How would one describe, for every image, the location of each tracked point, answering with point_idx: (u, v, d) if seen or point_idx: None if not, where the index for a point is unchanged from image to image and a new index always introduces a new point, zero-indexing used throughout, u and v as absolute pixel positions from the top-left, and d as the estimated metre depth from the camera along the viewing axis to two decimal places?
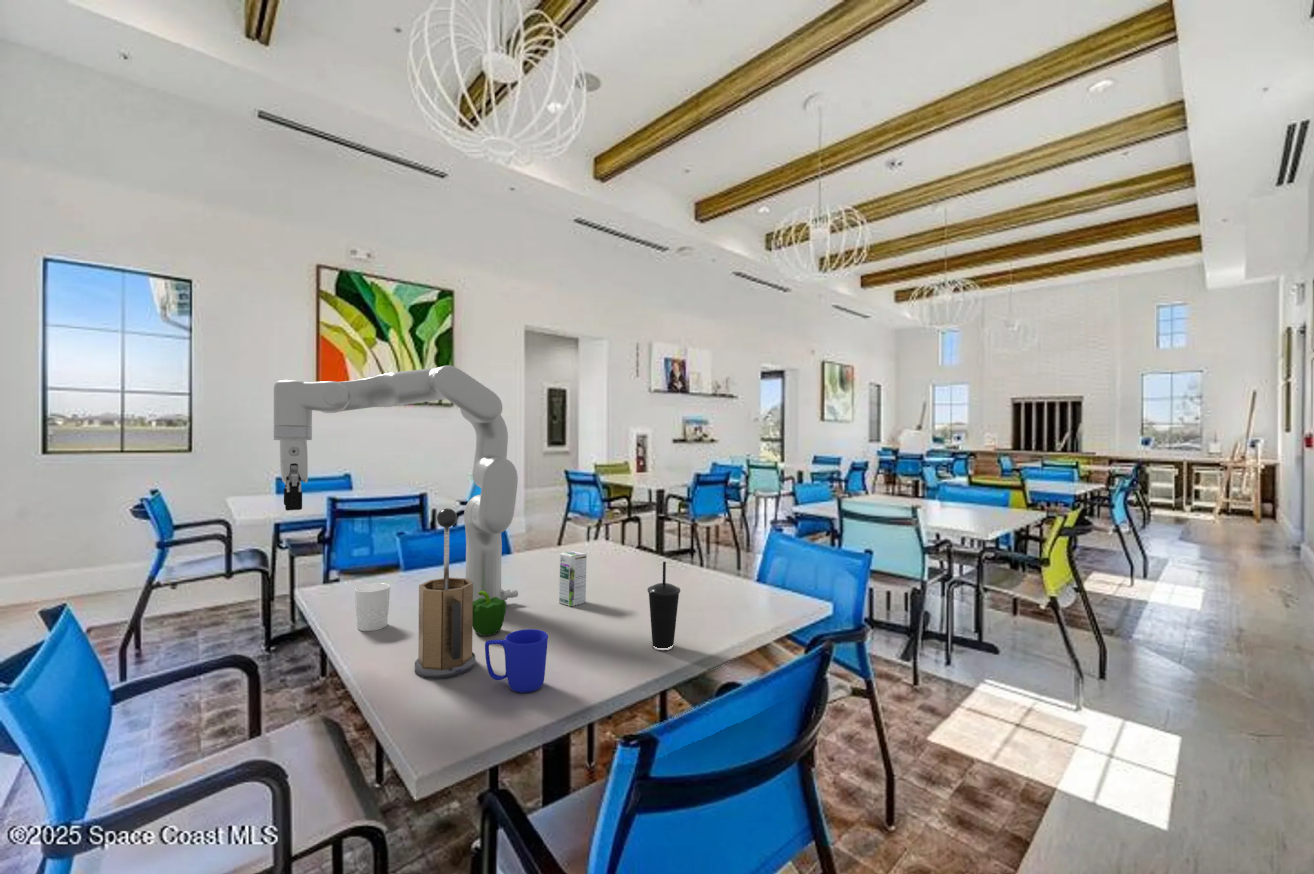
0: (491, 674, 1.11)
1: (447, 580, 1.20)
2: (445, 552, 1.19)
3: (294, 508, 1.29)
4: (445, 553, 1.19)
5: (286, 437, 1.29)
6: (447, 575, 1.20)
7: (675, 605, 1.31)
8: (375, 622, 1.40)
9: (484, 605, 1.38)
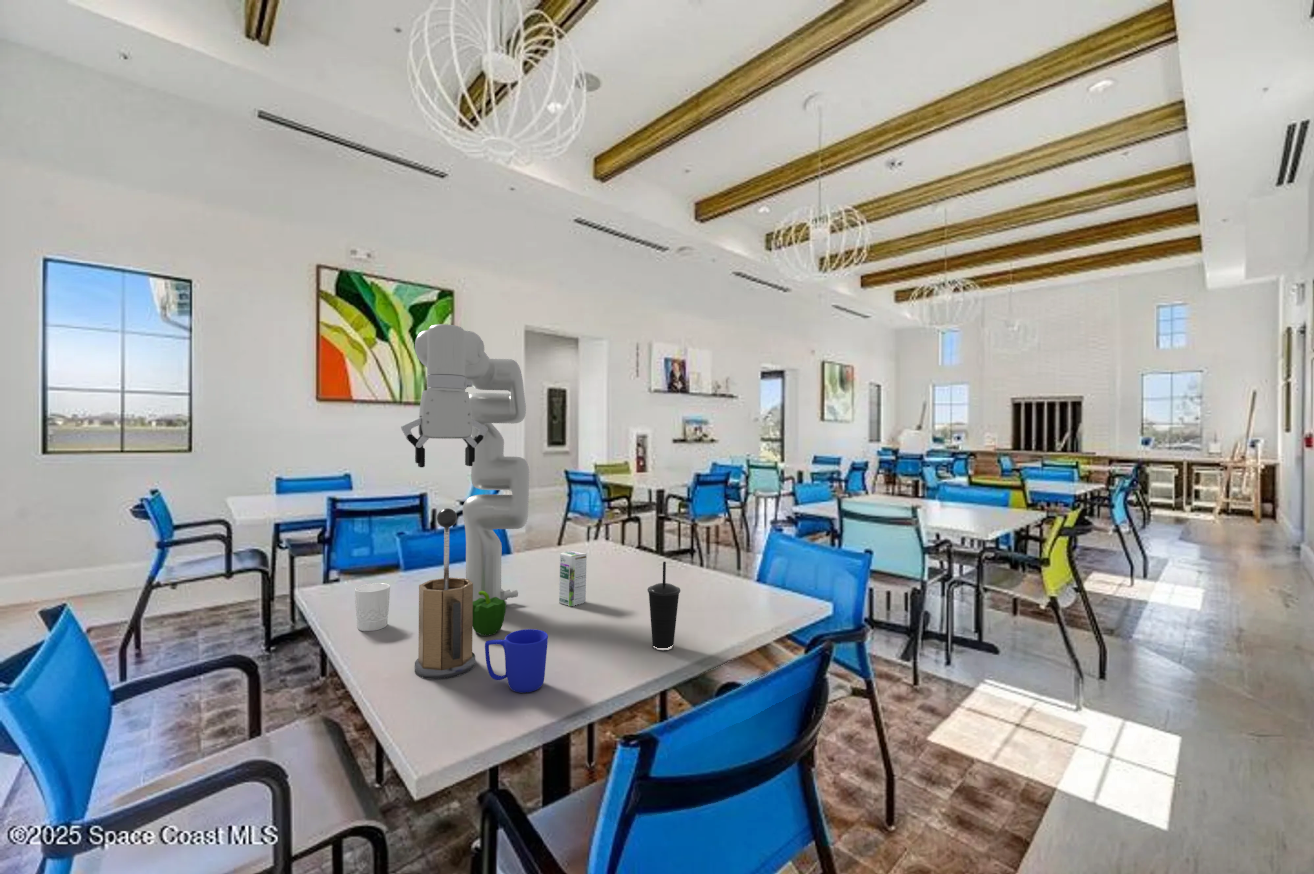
0: (491, 674, 1.11)
1: (447, 580, 1.20)
2: (445, 552, 1.19)
3: None
4: (445, 553, 1.19)
5: None
6: (447, 575, 1.20)
7: (675, 605, 1.31)
8: (375, 622, 1.40)
9: (484, 605, 1.38)
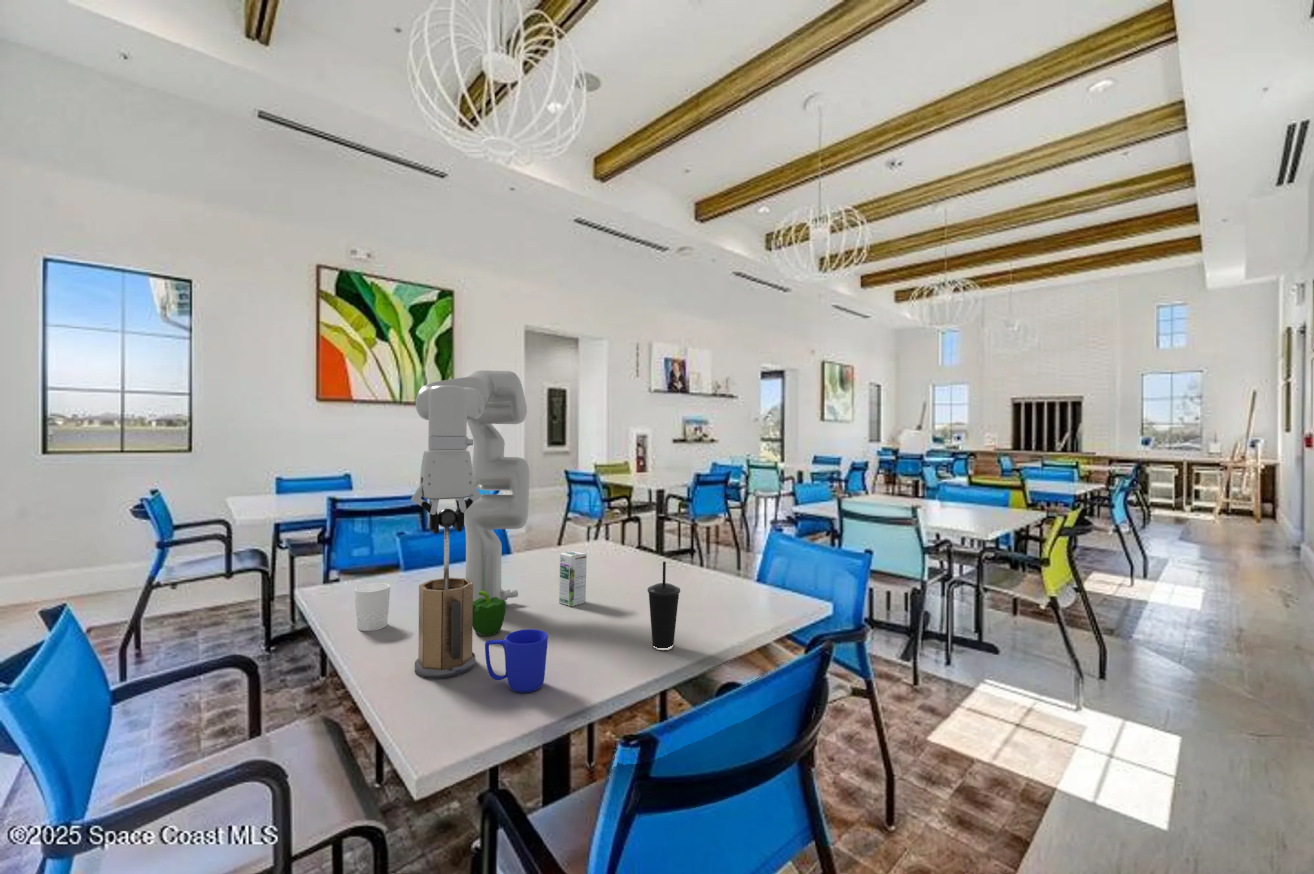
0: (491, 674, 1.11)
1: (447, 580, 1.20)
2: (445, 552, 1.19)
3: None
4: (445, 553, 1.19)
5: (466, 448, 1.20)
6: (447, 575, 1.20)
7: (675, 605, 1.31)
8: (375, 622, 1.40)
9: (484, 605, 1.38)
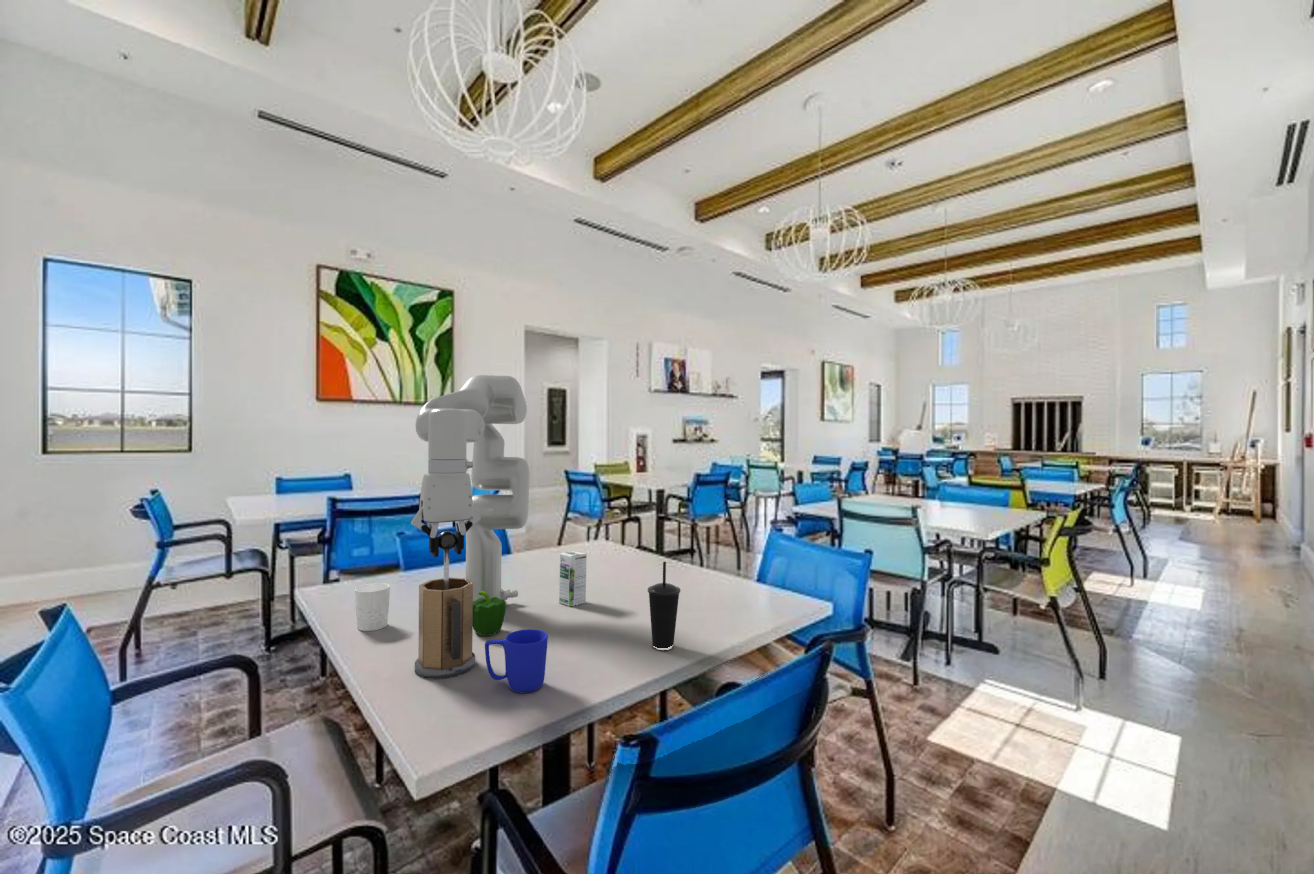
0: (491, 674, 1.11)
1: None
2: (445, 575, 1.20)
3: None
4: (445, 576, 1.20)
5: None
6: None
7: (675, 605, 1.31)
8: (375, 622, 1.40)
9: (484, 605, 1.38)
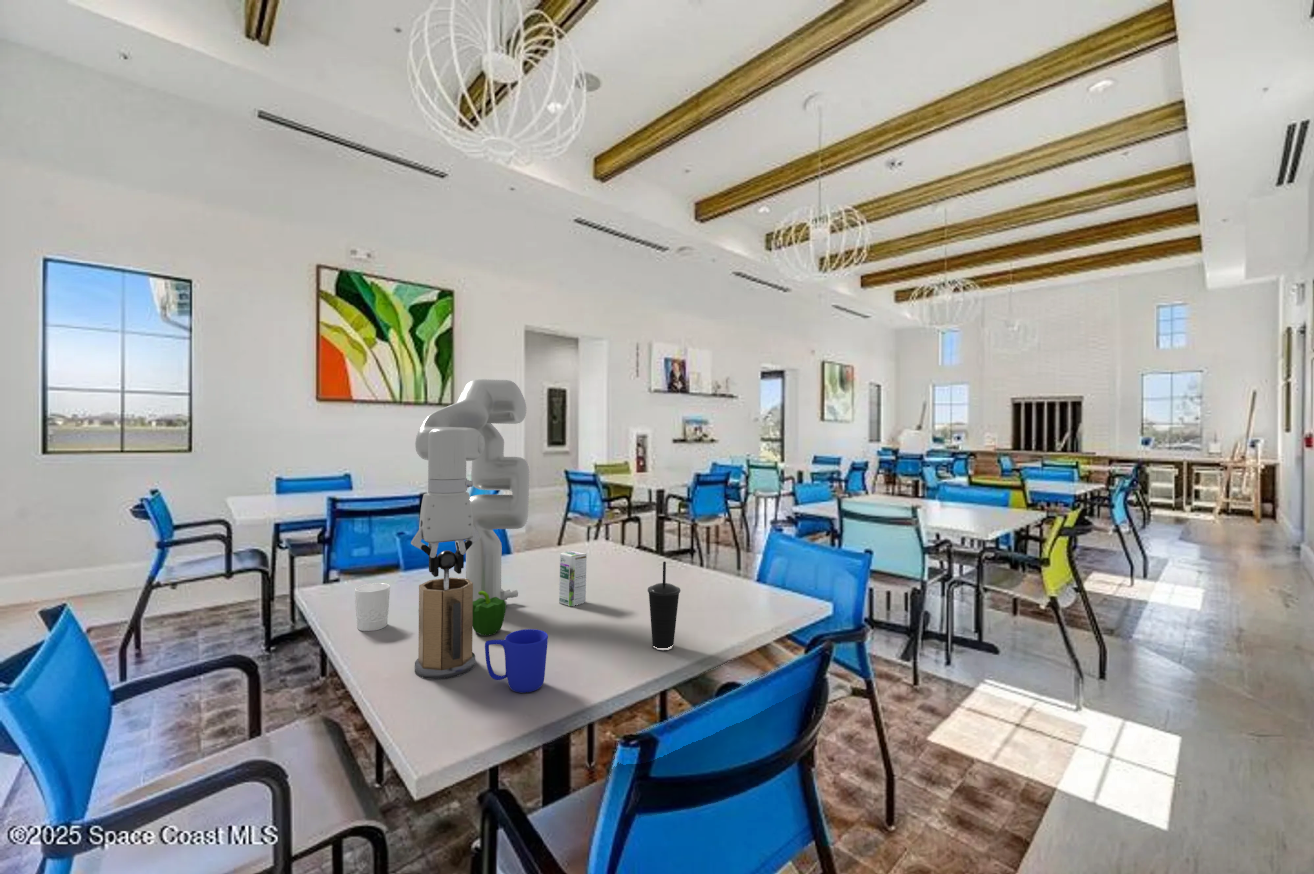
0: (491, 674, 1.11)
1: None
2: None
3: None
4: None
5: (466, 490, 1.21)
6: None
7: (675, 605, 1.31)
8: (375, 622, 1.40)
9: (484, 605, 1.38)
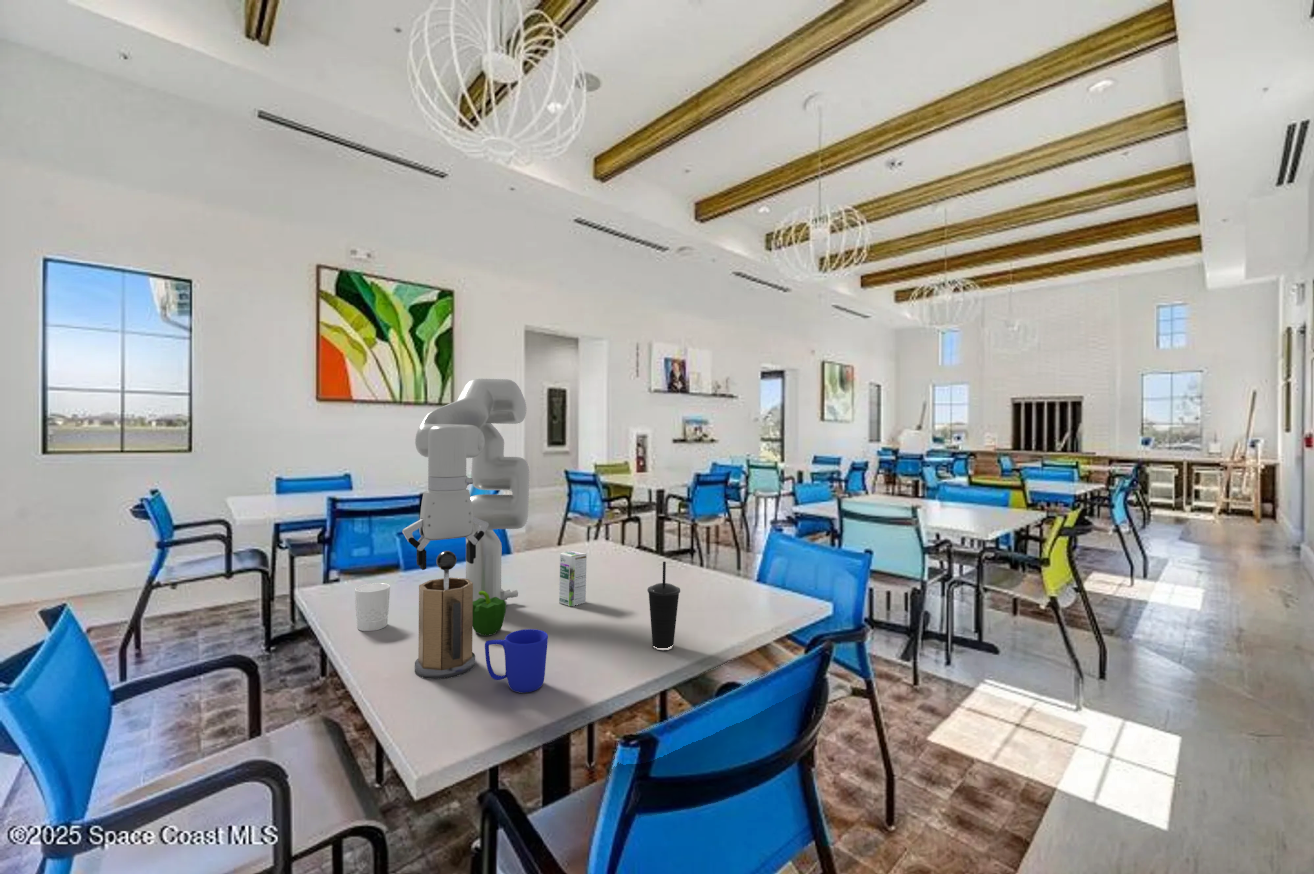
0: (491, 674, 1.11)
1: None
2: None
3: None
4: None
5: (466, 487, 1.21)
6: None
7: (675, 605, 1.31)
8: (375, 622, 1.40)
9: (484, 605, 1.38)
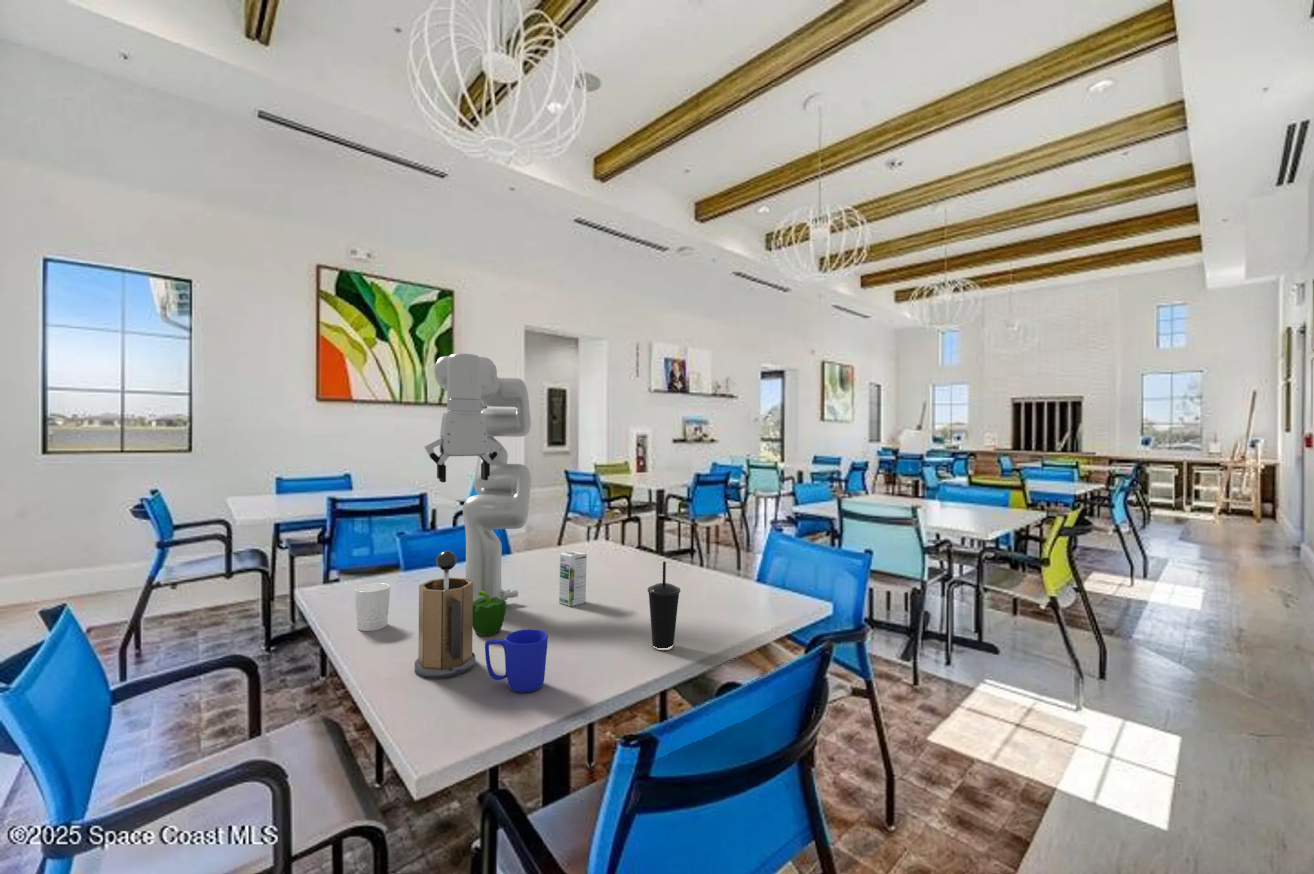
0: (491, 674, 1.11)
1: None
2: None
3: None
4: None
5: (481, 411, 1.33)
6: None
7: (675, 605, 1.31)
8: (375, 622, 1.40)
9: (484, 605, 1.38)
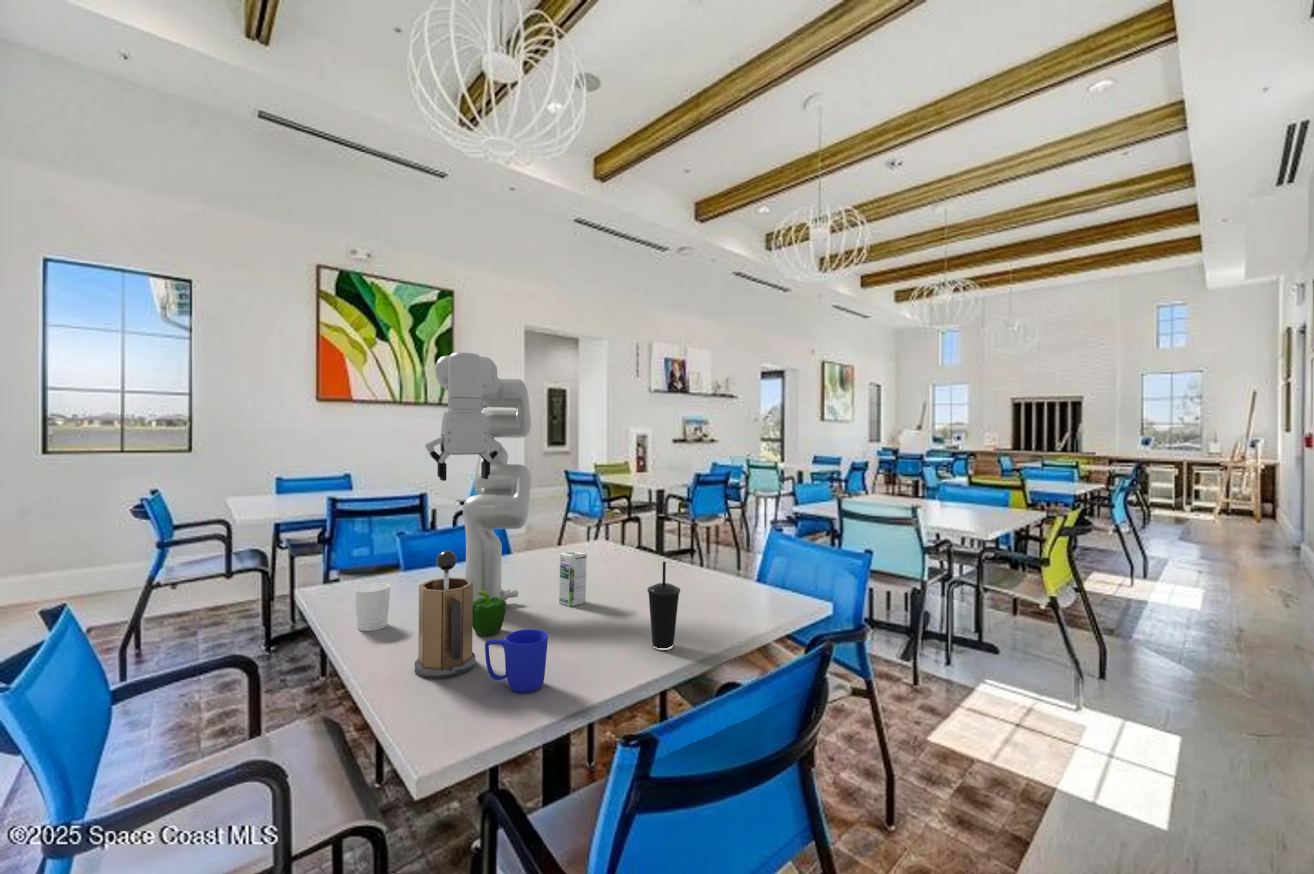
0: (491, 674, 1.11)
1: None
2: None
3: None
4: None
5: (481, 409, 1.34)
6: None
7: (675, 605, 1.31)
8: (375, 622, 1.40)
9: (484, 605, 1.38)
